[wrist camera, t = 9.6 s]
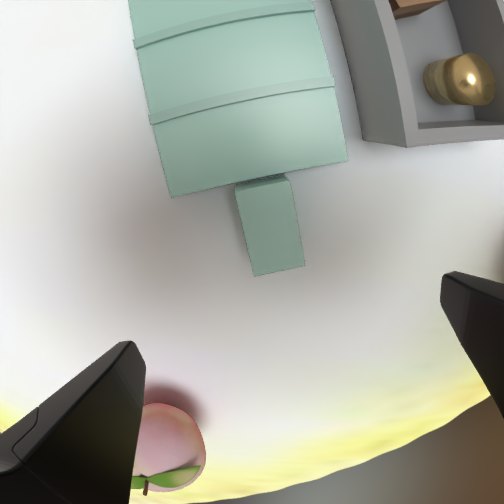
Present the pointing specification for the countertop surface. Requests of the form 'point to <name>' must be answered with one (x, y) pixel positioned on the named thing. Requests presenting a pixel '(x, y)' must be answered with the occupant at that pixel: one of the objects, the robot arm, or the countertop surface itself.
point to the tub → (420, 69)
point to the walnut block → (411, 7)
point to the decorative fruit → (167, 450)
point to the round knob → (460, 80)
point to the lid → (240, 107)
